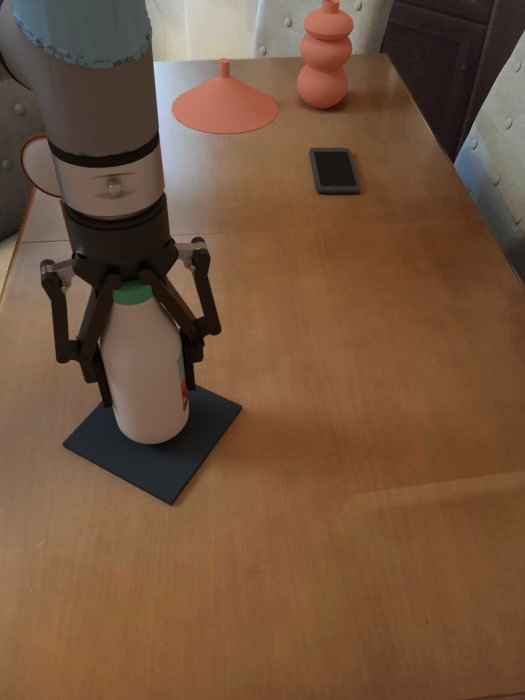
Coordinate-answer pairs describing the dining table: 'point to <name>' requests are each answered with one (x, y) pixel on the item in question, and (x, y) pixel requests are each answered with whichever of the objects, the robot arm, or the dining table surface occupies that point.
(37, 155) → the magnifying glass
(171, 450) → the mat
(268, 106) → the ceramic vessels
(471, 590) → the dining table surface
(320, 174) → the cell phone
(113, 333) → the milk bottle
